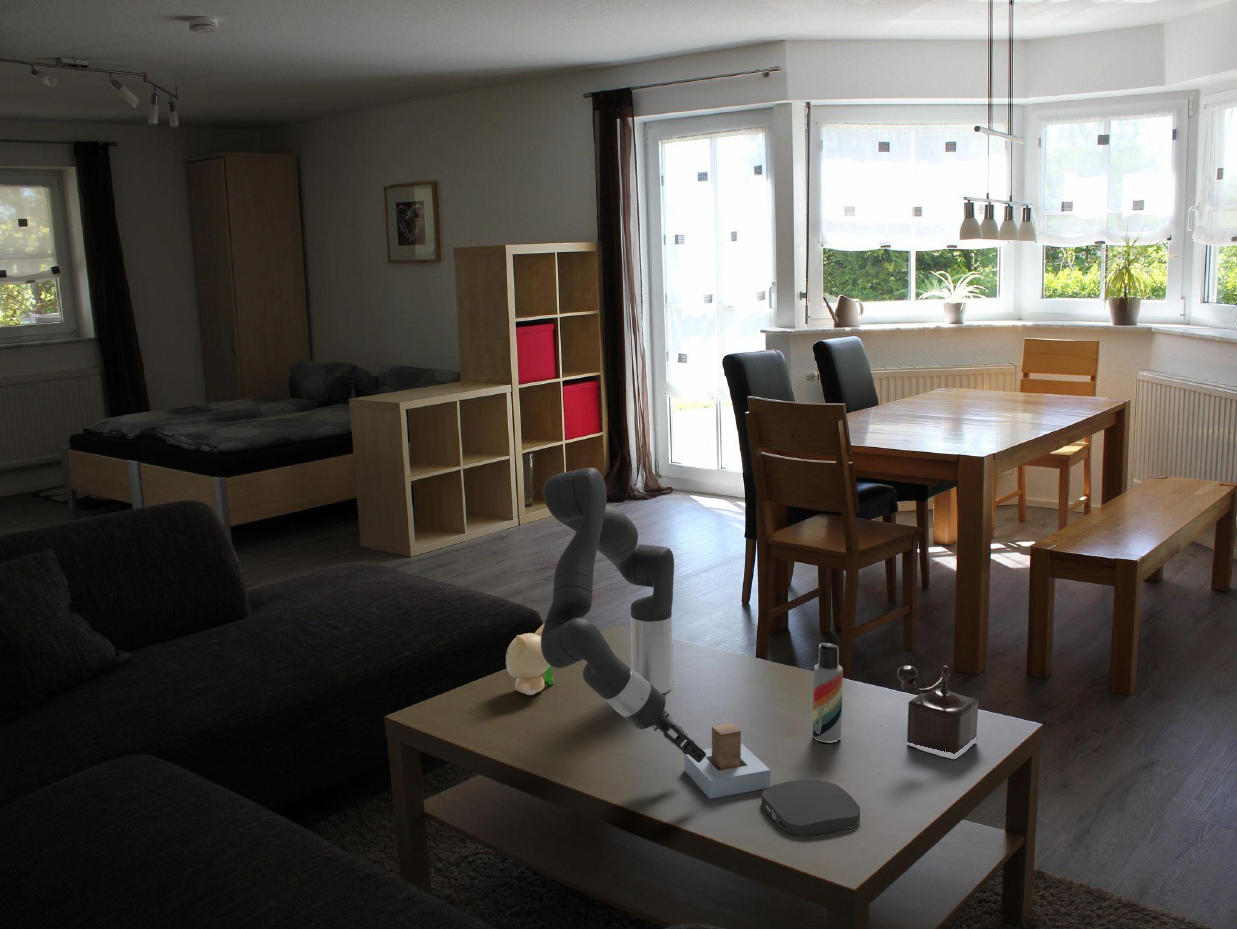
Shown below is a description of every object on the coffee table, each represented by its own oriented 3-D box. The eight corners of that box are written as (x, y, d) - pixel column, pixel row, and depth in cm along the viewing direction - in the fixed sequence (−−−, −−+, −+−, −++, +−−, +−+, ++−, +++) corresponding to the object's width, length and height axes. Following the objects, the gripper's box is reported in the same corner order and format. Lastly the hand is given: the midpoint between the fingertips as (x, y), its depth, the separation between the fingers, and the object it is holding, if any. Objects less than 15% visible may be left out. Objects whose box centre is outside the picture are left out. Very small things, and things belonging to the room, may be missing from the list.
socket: (684, 770, 203) (684, 752, 202) (741, 760, 207) (741, 743, 206) (709, 798, 192) (709, 780, 191) (770, 787, 196) (770, 769, 195)
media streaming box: (868, 827, 182) (868, 811, 182) (789, 841, 178) (790, 824, 177) (828, 789, 196) (828, 773, 195) (754, 800, 192) (754, 785, 191)
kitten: (535, 676, 252) (533, 615, 249) (568, 685, 246) (567, 622, 243) (492, 696, 240) (490, 632, 237) (526, 706, 234) (524, 641, 231)
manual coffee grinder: (926, 728, 220) (929, 645, 217) (977, 743, 213) (982, 657, 210) (889, 753, 209) (892, 666, 206) (943, 770, 202) (947, 680, 199)
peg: (711, 776, 201) (711, 726, 199) (730, 772, 202) (731, 722, 200) (720, 785, 197) (720, 734, 195) (740, 781, 198) (740, 731, 196)
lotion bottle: (807, 738, 216) (808, 644, 213) (822, 729, 220) (824, 637, 217) (831, 746, 212) (833, 650, 209) (846, 737, 216) (848, 643, 213)
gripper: (662, 695, 184) (722, 748, 190) (633, 668, 197) (691, 718, 203) (633, 729, 183) (695, 781, 189) (607, 699, 196) (665, 748, 202)
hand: (693, 748), depth 196 cm, fingers open, 8 cm apart
